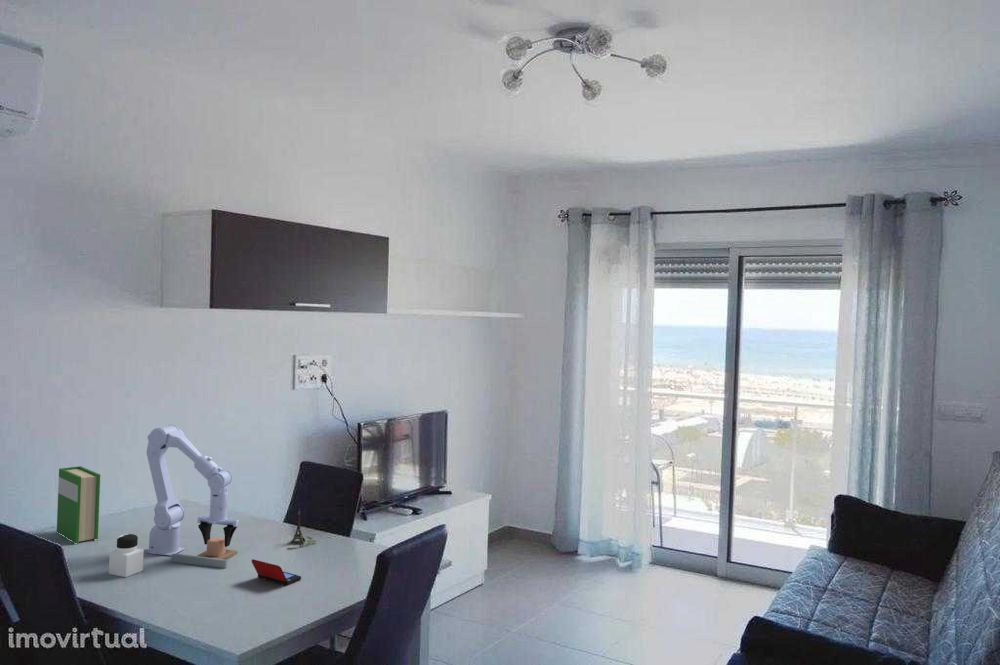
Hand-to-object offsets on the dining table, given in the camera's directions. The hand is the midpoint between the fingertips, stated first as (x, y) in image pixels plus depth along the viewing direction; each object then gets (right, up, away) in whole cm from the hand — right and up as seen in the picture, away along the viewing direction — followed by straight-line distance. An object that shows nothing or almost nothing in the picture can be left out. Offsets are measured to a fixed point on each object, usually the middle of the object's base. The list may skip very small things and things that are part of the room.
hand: (217, 544), depth 259 cm
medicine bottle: (-22, -4, -19) cm, 30 cm away
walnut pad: (0, -4, 0) cm, 4 cm away
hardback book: (-56, -1, +13) cm, 58 cm away
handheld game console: (+26, -6, -19) cm, 33 cm away
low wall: (-3, -4, -9) cm, 10 cm away
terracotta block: (0, -3, 0) cm, 3 cm away
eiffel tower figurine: (+23, -6, +19) cm, 30 cm away
